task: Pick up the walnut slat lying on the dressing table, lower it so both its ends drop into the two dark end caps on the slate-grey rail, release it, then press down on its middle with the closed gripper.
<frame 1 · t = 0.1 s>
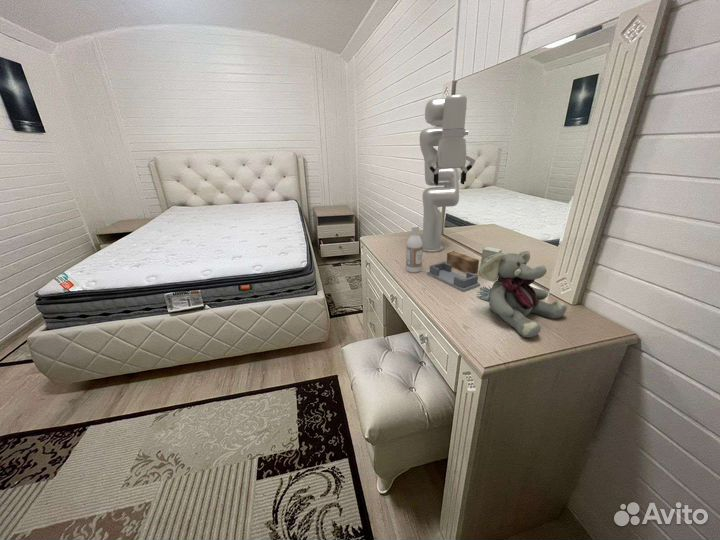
hand: (449, 184, 112), 37 cm above the table, tool pointing down, fingers open, 9 cm apart
plush elephant: (511, 311, 97), on the table
bath foam: (413, 270, 131), on the table
skincare box: (488, 277, 121), on the table
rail: (452, 279, 120), on the table
slat: (461, 268, 130), on the table
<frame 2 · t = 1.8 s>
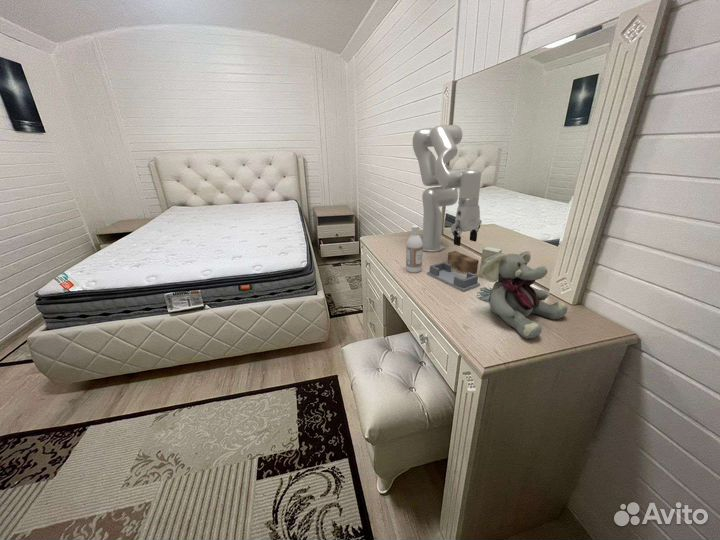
hand: (465, 242, 125), 12 cm above the table, tool pointing down, fingers open, 9 cm apart
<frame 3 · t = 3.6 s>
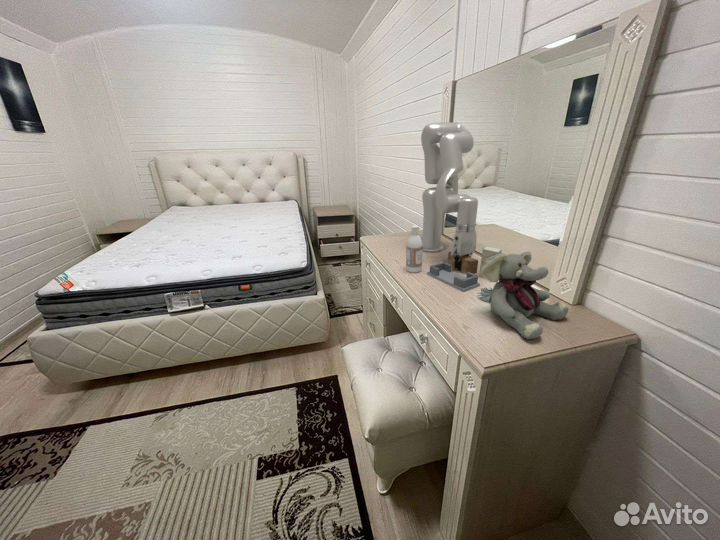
hand: (461, 267, 130), 1 cm above the table, tool pointing down, fingers closed on slat, 4 cm apart
slat: (461, 268, 130), on the table, touching gripper
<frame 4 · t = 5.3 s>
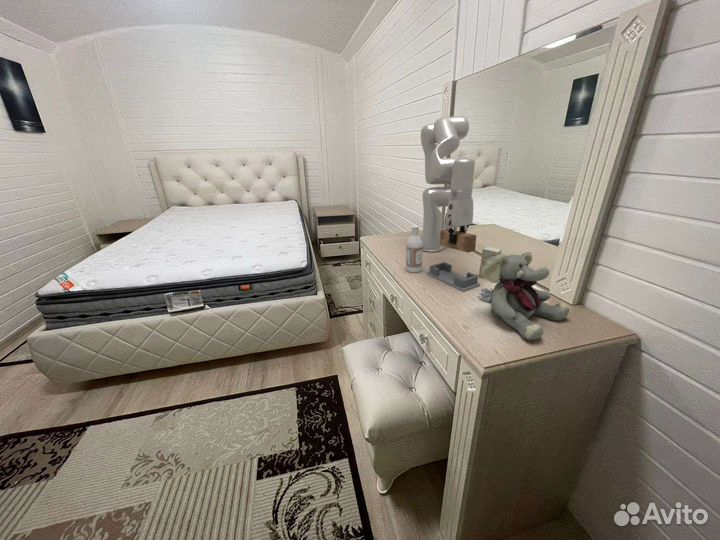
hand: (456, 242, 114), 16 cm above the table, tool pointing down, fingers closed on slat, 4 cm apart
slat: (456, 247, 115), point 14 cm above the table, touching gripper
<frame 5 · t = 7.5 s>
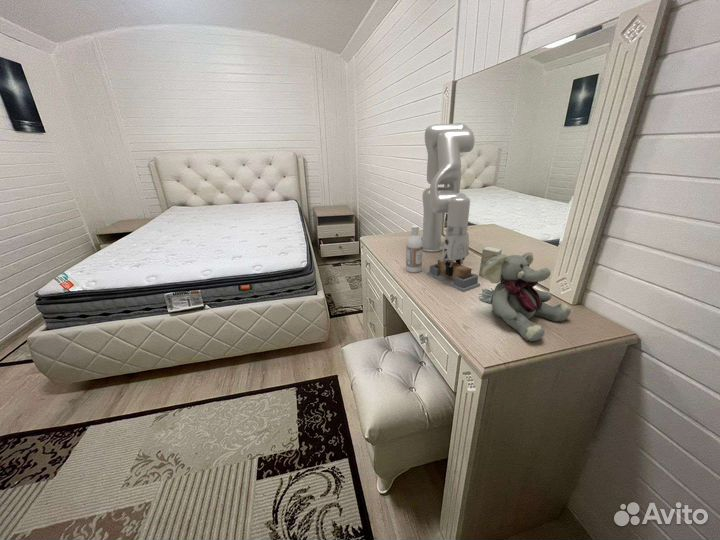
hand: (453, 273, 119), 3 cm above the table, tool pointing down, fingers closed on slat, 3 cm apart
slat: (452, 277, 119), point 1 cm above the table, touching gripper, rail
when the fingers open (3 cm above the table, at t = 7.7 s): slat stays where it is, resting on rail.
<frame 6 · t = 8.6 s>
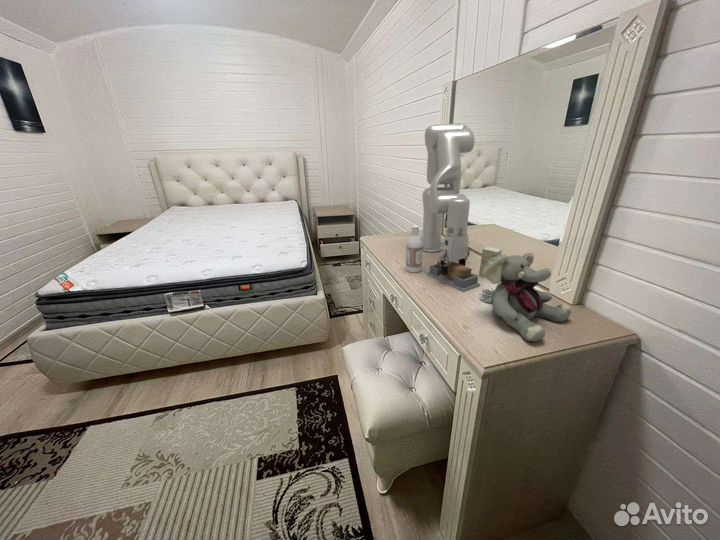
hand: (452, 271, 119), 4 cm above the table, tool pointing down, fingers open, 9 cm apart
slat: (452, 277, 119), point 1 cm above the table, touching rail
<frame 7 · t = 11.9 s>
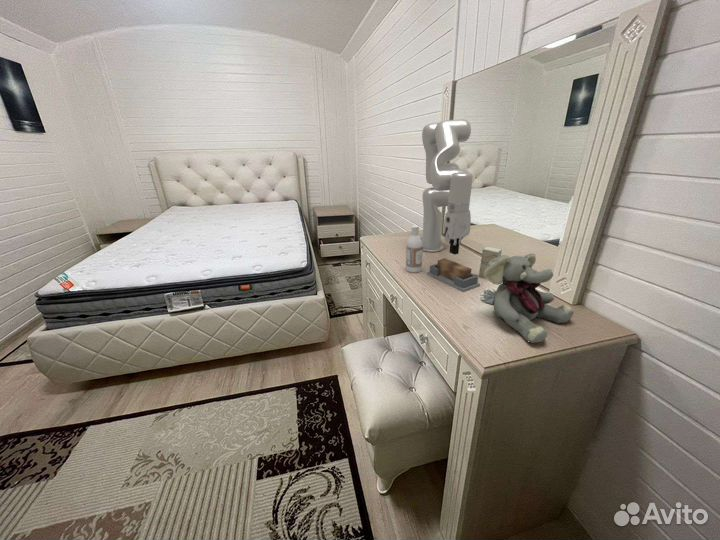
hand: (453, 253, 116), 11 cm above the table, tool pointing down, fingers closed
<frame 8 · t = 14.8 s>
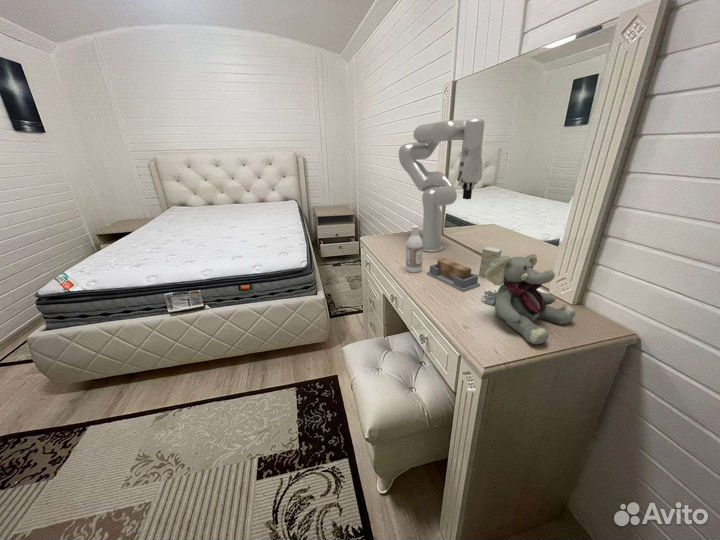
hand: (466, 198, 126), 29 cm above the table, tool pointing down, fingers closed
at the end: slat 0.4 cm off-centre on the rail, point 1.0 cm above the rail's base; slat tilted 0°; the gripper is holding nothing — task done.
